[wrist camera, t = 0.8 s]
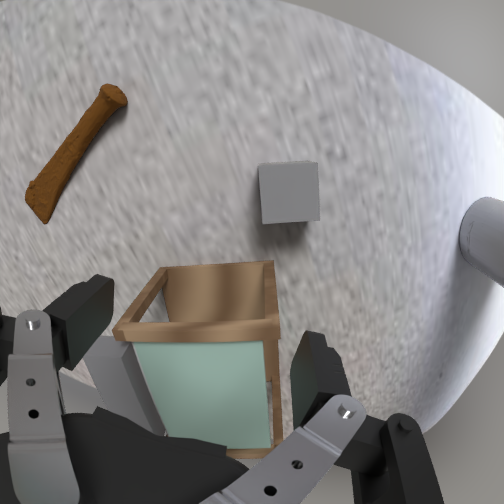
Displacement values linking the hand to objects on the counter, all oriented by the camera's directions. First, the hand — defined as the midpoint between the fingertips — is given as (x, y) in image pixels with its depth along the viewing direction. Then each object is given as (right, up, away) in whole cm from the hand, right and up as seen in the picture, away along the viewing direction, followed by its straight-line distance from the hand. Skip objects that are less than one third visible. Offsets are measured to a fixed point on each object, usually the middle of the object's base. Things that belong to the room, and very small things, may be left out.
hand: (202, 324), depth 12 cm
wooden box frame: (-1, -6, +24) cm, 25 cm away
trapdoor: (-4, -10, +14) cm, 18 cm away
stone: (+5, +9, +18) cm, 21 cm away
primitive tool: (-19, +14, +18) cm, 30 cm away
